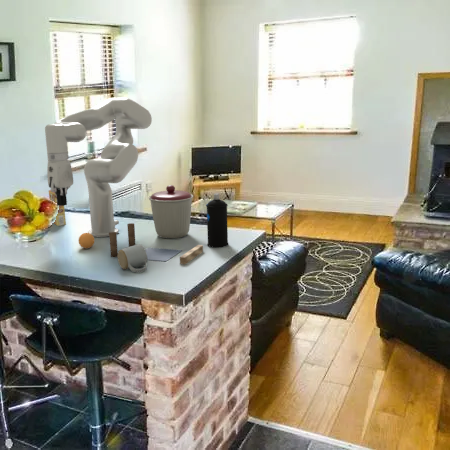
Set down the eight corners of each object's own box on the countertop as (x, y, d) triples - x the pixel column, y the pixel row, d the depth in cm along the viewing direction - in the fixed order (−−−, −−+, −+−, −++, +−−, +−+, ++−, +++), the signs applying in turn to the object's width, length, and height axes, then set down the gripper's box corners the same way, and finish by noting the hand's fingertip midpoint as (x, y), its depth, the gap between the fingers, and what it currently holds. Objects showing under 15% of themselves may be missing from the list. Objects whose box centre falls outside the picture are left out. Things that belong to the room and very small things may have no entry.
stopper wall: (198, 251, 208) (197, 244, 207) (203, 251, 207) (202, 245, 207) (180, 264, 193) (179, 257, 193) (185, 264, 193) (185, 257, 192)
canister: (184, 242, 220) (182, 190, 215) (143, 239, 225) (140, 188, 220) (201, 231, 236) (199, 182, 231) (162, 229, 242) (159, 180, 237)
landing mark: (148, 247, 214) (148, 247, 214) (182, 250, 209) (182, 250, 209) (130, 258, 201) (130, 257, 201) (165, 261, 196) (165, 261, 196)
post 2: (130, 245, 218) (129, 223, 215) (136, 246, 217) (135, 223, 214) (127, 247, 215) (126, 224, 213) (133, 247, 214) (132, 225, 212)
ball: (85, 245, 219) (83, 230, 218) (98, 246, 217) (97, 231, 216) (76, 249, 214) (74, 234, 212) (89, 250, 212) (88, 235, 210)
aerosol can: (231, 243, 218) (230, 192, 213) (223, 248, 210) (221, 196, 206) (212, 241, 221) (211, 191, 216) (203, 246, 214) (201, 195, 209)
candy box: (66, 224, 253) (63, 191, 250) (57, 226, 251) (53, 192, 248) (60, 221, 261) (57, 188, 257) (51, 222, 258) (48, 190, 255)
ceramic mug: (116, 267, 191) (115, 245, 190) (137, 262, 196) (136, 241, 194) (131, 275, 183) (130, 253, 181) (153, 270, 188) (152, 248, 186)
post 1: (113, 255, 206) (111, 231, 203) (119, 255, 205) (117, 231, 203) (109, 257, 203) (107, 233, 201) (115, 257, 202) (113, 233, 200)
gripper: (53, 159, 202) (58, 209, 206) (78, 155, 216) (81, 202, 220) (36, 159, 205) (41, 208, 209) (61, 154, 218) (65, 201, 223)
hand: (62, 205), depth 215 cm, fingers closed
